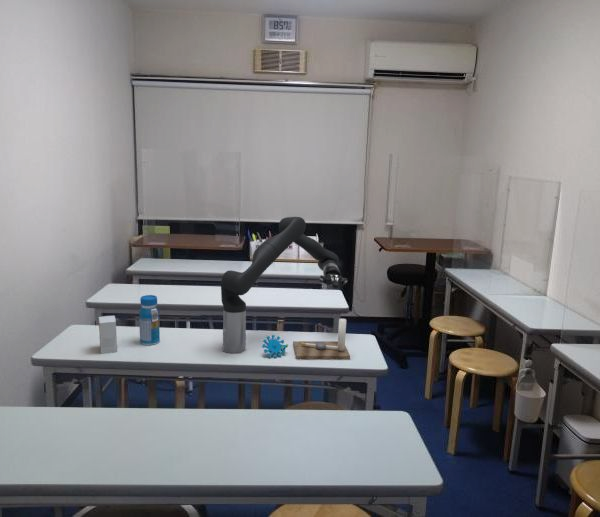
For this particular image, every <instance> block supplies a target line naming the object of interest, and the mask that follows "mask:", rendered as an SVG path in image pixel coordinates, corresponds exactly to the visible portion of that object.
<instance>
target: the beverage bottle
mask: <svg viewBox="0 0 600 517" xmlns="http://www.w3.org/2000/svg"><path fill="white" fill-rule="evenodd" d="M139 302H140V306H141V307H140V309H139V311H138V314H139V317H138V323H139V343H140V344H142V345H144V346H153V345H156V344H158V343H160V341H161V338H160V337H161V336H160V331H161V330H160V320H161V319H160V318H161V317H160V315H159V314H160V310H159V308H158V306H157V305H158V296H156V295H154V294H145V295H142V296H141V297H140V301H139Z"/></svg>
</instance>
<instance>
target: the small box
mask: <svg viewBox="0 0 600 517" xmlns="http://www.w3.org/2000/svg"><path fill="white" fill-rule="evenodd" d="M116 320H117V319H116V316H115V315H104V316H103V315H102V316H98V328H99V331H98V332H99V347H100V354H111V353H117V352H118V340H117V339H118V336H117V321H116Z"/></svg>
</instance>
